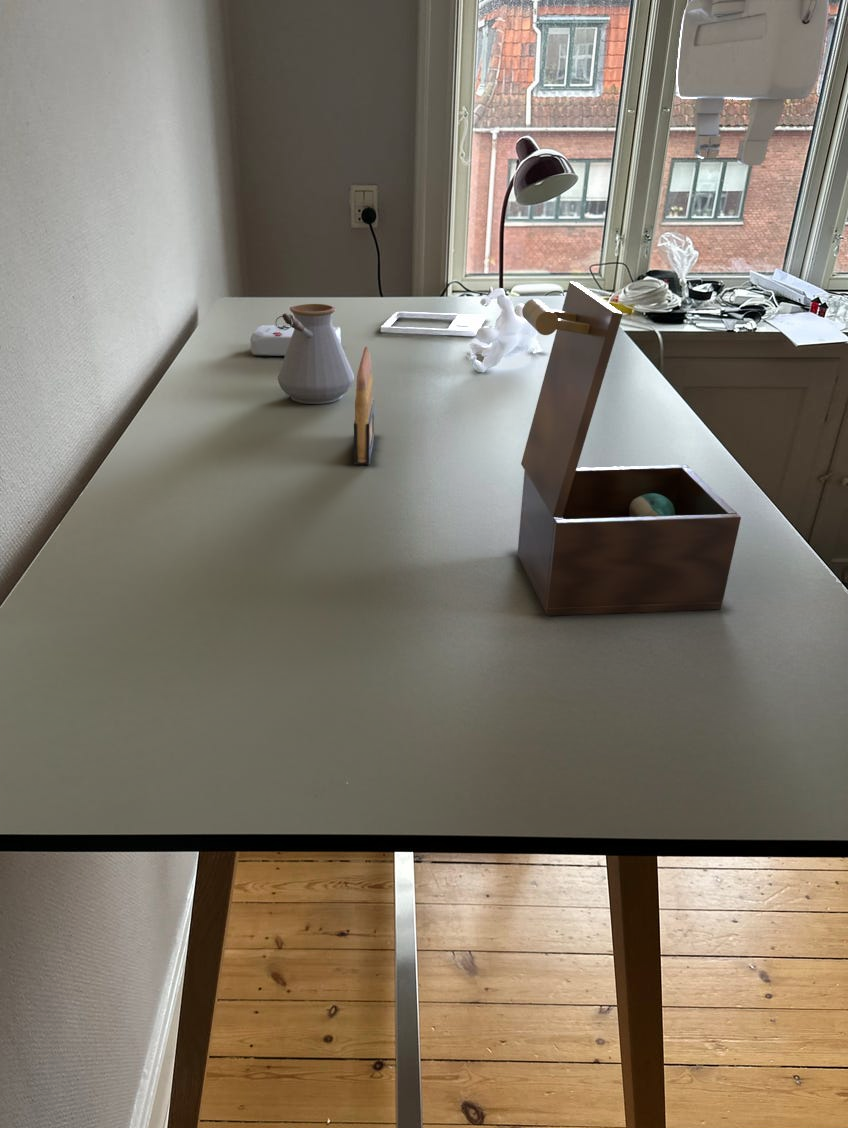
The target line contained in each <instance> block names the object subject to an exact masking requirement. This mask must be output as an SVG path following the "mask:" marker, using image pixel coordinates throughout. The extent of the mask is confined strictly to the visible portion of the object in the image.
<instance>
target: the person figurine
mask: <svg viewBox="0 0 848 1128" xmlns="http://www.w3.org/2000/svg"><path fill="white" fill-rule="evenodd" d="M494 299H495V300H496V303H497V306H498V307H499V308H500V310H501V312H500V314H499V316H498V317H497V318H496V320H495V323H494V326H493V325H490V326H488V325H485V326H481V327H480V328H479V329H478V330H477V332H476V335H475V337H476V339H477V341H479V342H480V343H483V344H486V345H487V346H484V345H481V344H477V343H473V342H471V343H469V346H470V347H469V348H470V350H471V351H468V352H467V353H466V358H467V359H468V360H469V361H470V363H471V365H472V366H473V368H474V369H475V370H476V371H477V372H478V373H485V372H486V371H487V370H488V369H489V368H492V367H495V366H497V365H498V364H499V363H500V362H501V360H502V359H504V358H510V357H512V356H515V355H520V354H524V353H527V352H529V351H530V350H531V349H532V353H533V354H539V353H540V352H542V351H543V350H542V348H541V347H540V342H539V341H538V339H537V336H538V333H539V332H538V331H537V330H536V329H535V328H534V327H533V326H532V325H531V324H530V323H529V322H528V321H527V320H526V319H525V318H524V317H523V313H522V310H523V307H524V305H525V304H523V303H518V304H517V305H516V306H515V308H514V305H513V302H512V301H511V299H510V298H509V297H508V296H507V295H506V293H505V290H504V288H501V287H498V288H495V289H493V290H492V291H491V292H490V293H488V294H487V295H486V296H485V297H483V298H481V300H480V302H479V303H480V305H481V306H484V307H487V306H489V305H490V304H491V300H494ZM491 343H492V344H491ZM476 354H480V356H481V357H482V358H483V360H482V362H481V361H480V360H478V359H477V355H476Z"/></svg>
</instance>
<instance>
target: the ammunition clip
mask: <svg viewBox="0 0 848 1128" xmlns="http://www.w3.org/2000/svg"><path fill="white" fill-rule="evenodd" d="M356 375H357V376H356V389H355V390H356V391H355V400H354V423H353V465H356V466H359V465H361V466H370V463H371V457H372V452H373V447H374V440H375V401H374V383H373V375H372V362H371V355H370V350H369V348H368V346H365V347H364V348H363V352H362V356H361V359H360V363H359V367H358V370H357V374H356Z"/></svg>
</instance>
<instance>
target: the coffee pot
mask: <svg viewBox="0 0 848 1128" xmlns="http://www.w3.org/2000/svg"><path fill="white" fill-rule="evenodd" d="M289 310H290V312H291V313H292V314H289V313H282V315H280V316H278V317H276V319H275V322H274V324H275V326H277V327H278V326H279V325H278V324H277V322H278V320H279V319H280V318H282V319H283V321H284V323H285V324H287V325H288V326H290V327H292V328H294V332H293V334H292V337H291V340H290V343H289V346H288V349H287V352H286V354H285V356H283V360H282V363H281V366H280V368H279V372H278V375H277V378H276V379H277V382H278V385H279V387H280V389H281V390H282V391H283V392H284V393H285V394H286V395H288V396H290V399H291V400H292V401H293V402H297V403H301V404H309V405H319V404H321V405H322V404H330V403H334V402H336V401H337V402H338V401H339V400H341V399H342V398H343V395H344V394H346V393H347V392H348V391H349V390H350V389H351V388H352V385H353V383H354V380H355V375H354V372H353V369H352V367H351V365H350V363H349V360H348V358H347V355H346V354H345V350H344V348H343V346H342V343H341V342H340V341H339V339H338V337H337V334H336V332H335V330H334V327H335V326H334V325H333V323H332V321H333V315H334V313H335V312H336V310H337V308H336V307H335V305H332V304H325V303H305V304H298V305H294V306H290V307H289ZM290 327H289V328H290ZM278 328H279V327H278ZM289 328H287V329H289ZM279 329H281V328H279ZM287 329H281V330H287Z"/></svg>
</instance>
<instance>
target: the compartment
mask: <svg viewBox="0 0 848 1128" xmlns="http://www.w3.org/2000/svg"><path fill="white" fill-rule="evenodd" d="M523 470H524V469H523ZM523 472H524V473H523V484H522V496H521V506H520V517H519V518H520V519H519V531H518V541H517V542H518V543H517V556H518V558H519V560H520V563H521V564H522V567H523V569H524V571H525V573H526V575H527V578H528V579H529V582H530V584H531V585H532V588H533V590H534V591H535V594H536V596H537V598H538V600H539V602H540V604H541V606H542V608H543V611H544V613H545V615H546V616H547V617H555V616H580V615H604V614H632V613H656V612H659V613H660V612H684V611H685V612H686V611H710V610H712V611H713V610H722V608H723V603H724V598H725V593H726V589H727V584H728V579H729V574H730V571H731V570H730V569H731V565H732V561H733V556H734V551H735V547H736V543H737V538H738V533H739V528H740V524H741V519H742V517H741V516H740V514H739V513H738V512H737V511H736V510H735V509H733V508H732V506H730V505H729V503H727V502H726V501H725V500H724V499H723V498H722V497H721V496H720V495H719V494H717V492H716V491H715V490H714V489H712V488H711V486H709V484H707V483H706V482H705V481H704V479H702V478H701V477H700V476H699V475H698V474H697V473H696V472H695V471H693V470H692V468H691V467H689V465H687V464H670V465H668V464H666V465H665V464H664V465H634V466H633V465H632V466H630V465H629V466H602V467H601V466H599V467H598V466H597V467H577V469H576V472H575V476H574V479H573V482H572V486H571V489H570V492H569V496H568V499H567V502H566V506H565V509H564V512H563V516H562V518H555V517H553V516H552V515H551V513H550V511H549V510H548V508H547V506H546V505H545V503H544V501H543V500H542V498H541V496H540V495H539V493H538V491H537V490H536V488H535V486H534V485H533V483H532V481H531V480H530V478H529V476H528V475H527V473H526V471H525V470H524V471H523ZM649 493H654V494H659V495H662V496H664V497H666V498H667V499H668V500H669V501H670V502H671V503H672V504H673V506H674V510H675V516H654V517H630V516H629V508H630V504H631V502H632V501H633V500H634V499H636V498H637V497H640V496H642V495H645V494H649Z"/></svg>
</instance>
